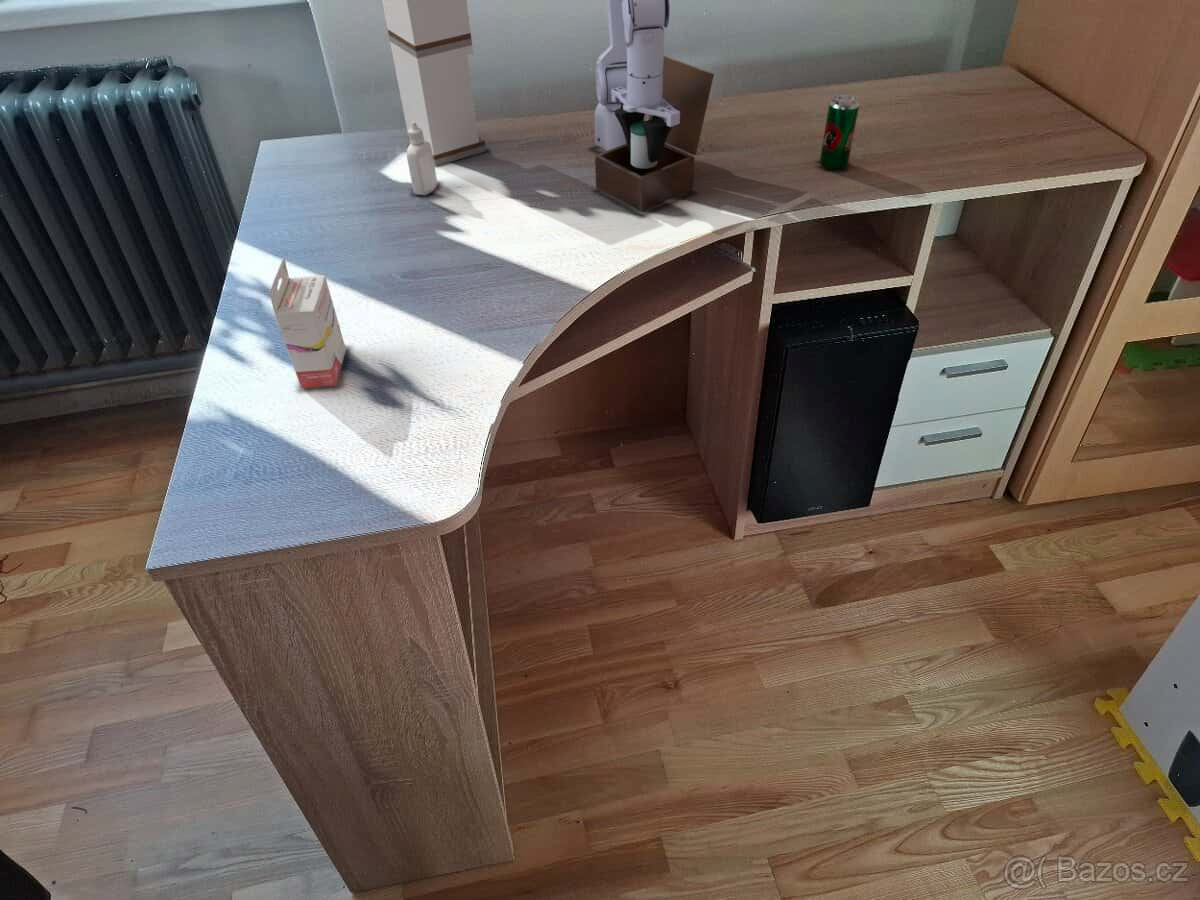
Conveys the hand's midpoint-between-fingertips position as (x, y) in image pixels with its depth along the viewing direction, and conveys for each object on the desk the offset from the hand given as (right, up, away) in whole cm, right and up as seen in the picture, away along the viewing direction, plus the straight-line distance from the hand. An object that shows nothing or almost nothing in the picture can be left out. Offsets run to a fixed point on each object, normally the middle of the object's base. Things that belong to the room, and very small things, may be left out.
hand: (644, 155), depth 138 cm
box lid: (+6, +8, -1) cm, 10 cm away
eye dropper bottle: (-39, -3, +8) cm, 40 cm away
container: (0, -1, +1) cm, 1 cm away
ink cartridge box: (-44, -39, -29) cm, 66 cm away
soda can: (+35, +2, +10) cm, 36 cm away
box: (0, -5, +5) cm, 7 cm away
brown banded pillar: (-37, +8, +20) cm, 43 cm away
